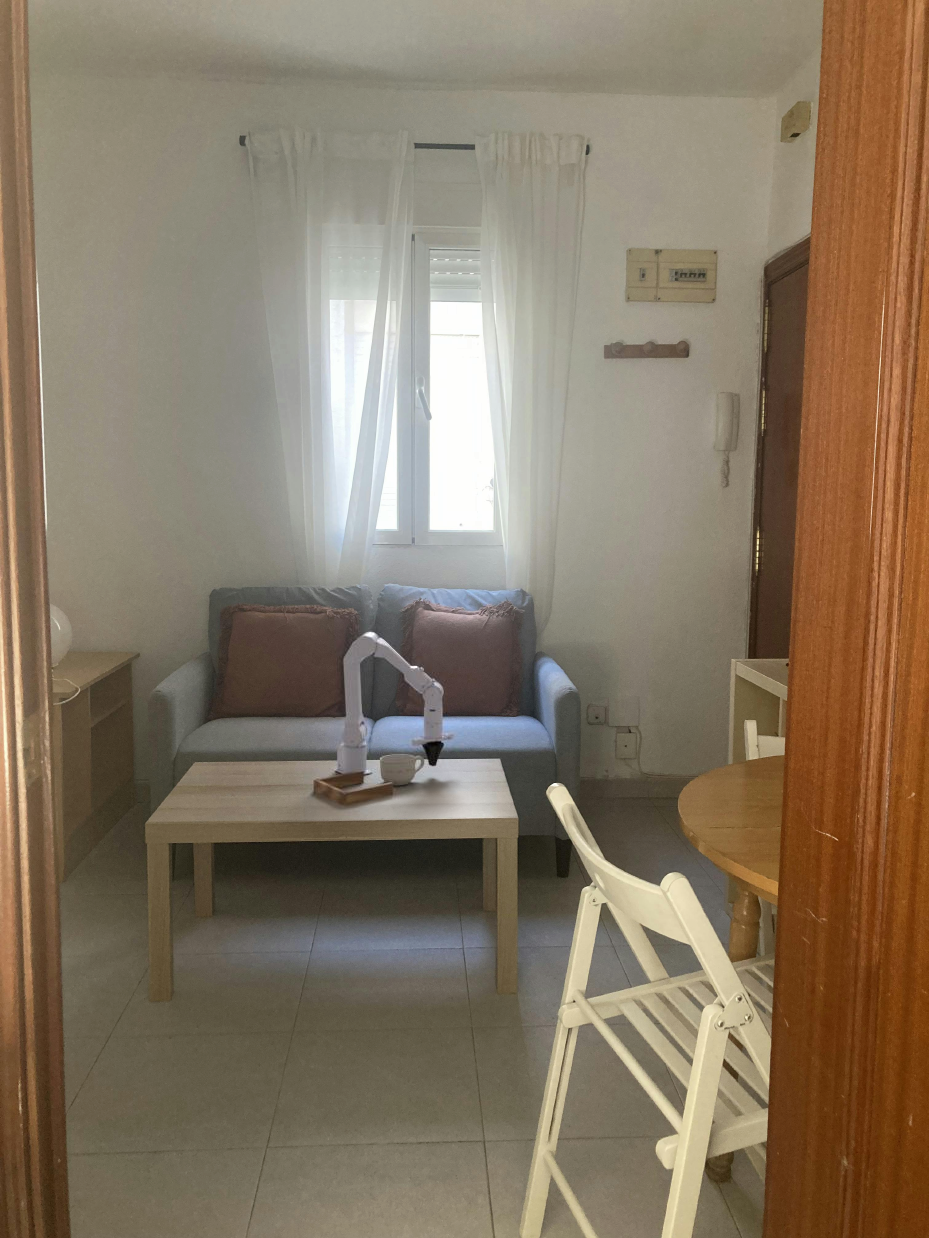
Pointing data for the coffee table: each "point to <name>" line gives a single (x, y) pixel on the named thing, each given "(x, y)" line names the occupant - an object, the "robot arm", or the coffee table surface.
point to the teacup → (399, 768)
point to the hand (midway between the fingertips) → (432, 765)
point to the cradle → (331, 791)
